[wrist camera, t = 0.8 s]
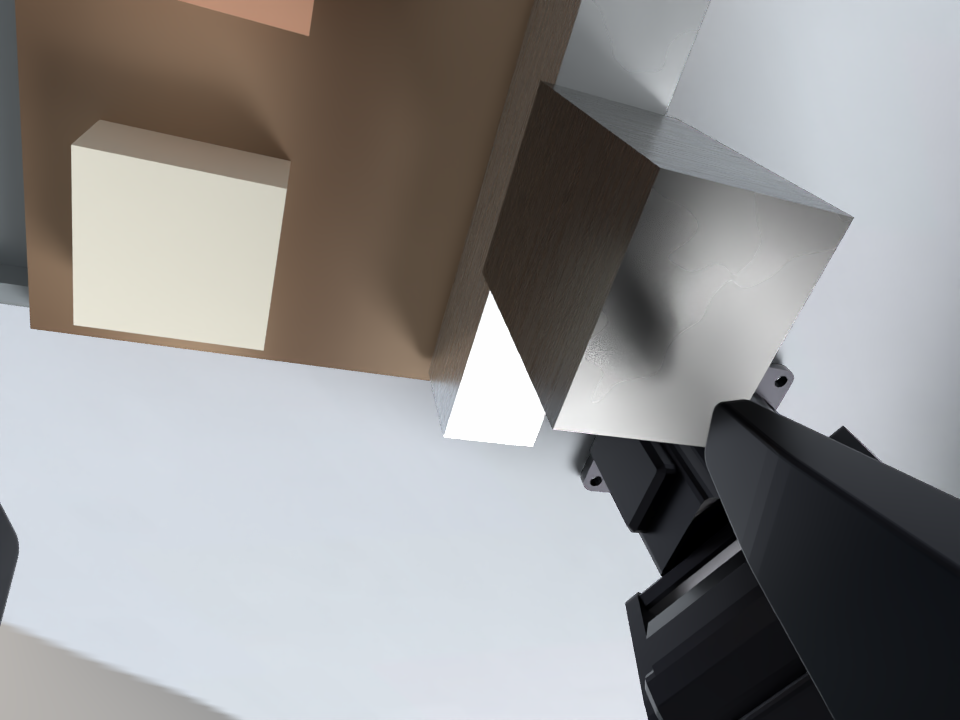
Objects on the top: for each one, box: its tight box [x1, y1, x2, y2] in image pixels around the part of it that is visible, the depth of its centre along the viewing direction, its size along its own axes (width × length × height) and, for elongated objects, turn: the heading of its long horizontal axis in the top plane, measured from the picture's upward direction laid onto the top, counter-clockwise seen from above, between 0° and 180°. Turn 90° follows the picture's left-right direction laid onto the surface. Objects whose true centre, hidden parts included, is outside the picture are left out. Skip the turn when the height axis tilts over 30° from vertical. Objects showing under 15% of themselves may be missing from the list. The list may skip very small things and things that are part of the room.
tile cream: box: [71, 120, 291, 351], centre depth 15 cm, size 4×4×2 cm
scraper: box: [428, 0, 854, 447], centre depth 13 cm, size 3×13×8 cm, turn 163°
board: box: [15, 0, 534, 381], centre depth 17 cm, size 14×14×2 cm
